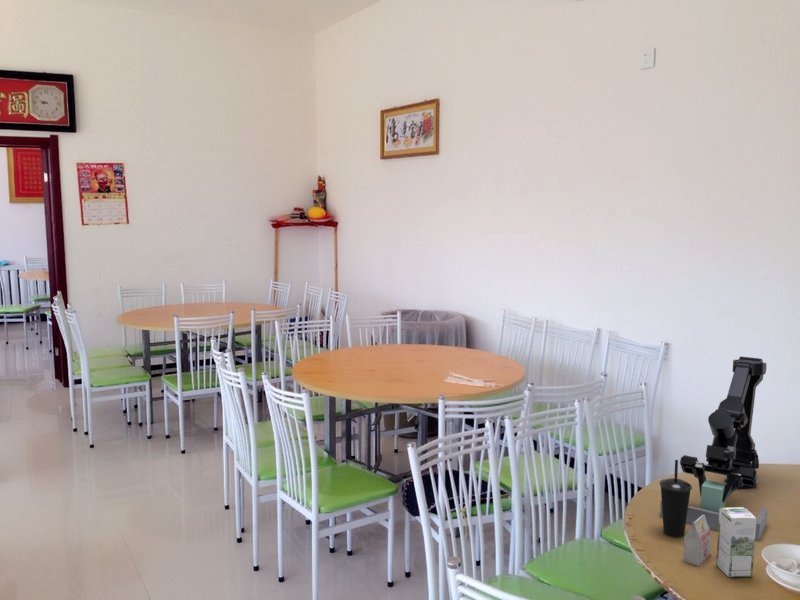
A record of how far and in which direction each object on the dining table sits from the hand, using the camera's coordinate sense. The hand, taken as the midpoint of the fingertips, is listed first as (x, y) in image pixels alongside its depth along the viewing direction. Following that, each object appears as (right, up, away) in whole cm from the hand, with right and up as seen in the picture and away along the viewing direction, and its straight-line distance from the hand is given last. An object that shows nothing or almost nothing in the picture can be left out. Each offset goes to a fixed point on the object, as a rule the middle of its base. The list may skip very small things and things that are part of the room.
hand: (712, 499), depth 178 cm
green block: (+1, -6, +2) cm, 7 cm away
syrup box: (-6, -10, -23) cm, 26 cm away
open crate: (+1, -7, +2) cm, 7 cm away
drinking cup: (-12, -8, -5) cm, 15 cm away
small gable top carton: (-12, -9, -17) cm, 22 cm away
